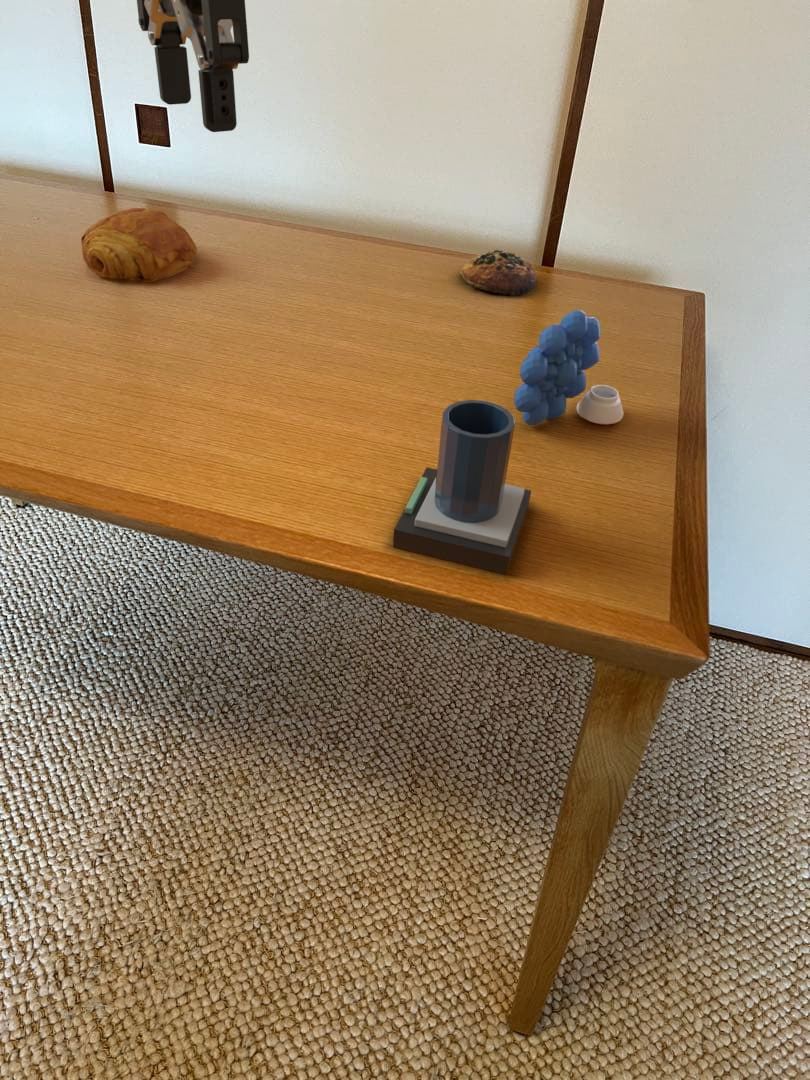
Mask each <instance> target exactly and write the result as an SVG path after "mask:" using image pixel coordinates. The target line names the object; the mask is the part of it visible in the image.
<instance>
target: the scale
mask: <svg viewBox="0 0 810 1080" xmlns="http://www.w3.org/2000/svg"><path fill="white" fill-rule="evenodd" d="M436 474H437V468H432V467H431V468H430V467H426V468H425V469H424V471H423V472H422V475H421V477H420V479H419V481H418V483H417V485H416V487H415V489H414V490H413V493H412V494H411V496H410V498H409V500H408V502H407V504H406V506H405V508H404V509H403V511H402V513H401V515H400V517H399V518H398V521H397V523H396V525H395V526H394V529H393V538H392V539H393V540H392V548H395V549H399V550H403V551H407V552H411V553H415V554H419V555H424V556H426V557H427V556H428V557H432V558H436V559H440V560H443V561H448V562H452V563H456V564H460V565H465V566H468V567H472V568H476V569H481V570H485V571H489V572H492V573H497V574H500V575H505V576H506V575H507V574H508V572H509V568H510V565H511V562H512V560H513V556H514V552H515V549H516V546H517V543H518V540H519V538H520V535H521V531H522V528H523V525H524V521H525V518H526V516H527V513H528V511H529V510H528V509H529V505H530V500H531V495H532V490H530V489H527V488H525V487H521V486H516V485H512V484H507V483H505V486H504V492H503V498H502V503H501V507H500V510H499V512H498V513H497V515H495V516H494V517H493V518H491V519H489V520H486V521H483V522H477V523H467V522H460V521H456V520H453V519H451V518H449V517H447V516H445V515H444V514H442V513H441V512H440V511H439V510H438V509H437V507H436V505H435V502H434V497H435V484H436Z"/></svg>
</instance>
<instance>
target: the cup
mask: <svg viewBox="0 0 810 1080" xmlns="http://www.w3.org/2000/svg"><path fill="white" fill-rule="evenodd" d="M441 416H442V417H441V426H440V436H439V443H438V444H439V445H438V455H437V465H436V469H437V474H436V484H435V497H434V502H435V505H436V507H437V509H438V510H439V511H440V512H441V513H442V514H444V515H445V516H447V517H449V518H451V519H453V520H456V521H460V522H467V523H477V522H483V521H486V520H489V519H491V518H493V517H494V516H495V515H497V513H498V512H499V510H500V507H501V503H502V498H503V492H504V486H505V484H506V481H507V474H508V468H509V467H508V466H509V463H510V457H511V452H512V451H511V450H512V444H513V439H514V432H515V426H516V423H515V422H516V421H515V417H514V416H513V414H512V413H511V412H510V411H509V410H508V409H507V408H506V407H504V406H502V405H499V404H497V403H495V402H491V401H487V400H479V399H467V400H459V401H456V402H454V403H450V404H449V405H448V406H446V408H445V409H444V410H443V411H442V414H441Z"/></svg>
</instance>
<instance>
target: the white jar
mask: <svg viewBox="0 0 810 1080" xmlns="http://www.w3.org/2000/svg"><path fill="white" fill-rule="evenodd" d="M576 412H577V414H578V415H579V416H580V417H581V418H582V419H584V420H587V421H588V422H591V423H594V424H597V425H598V424H599V425H612V424H616V423H618V422H621V421H622V419H623V418H624V415H625V412H624V408H623V405H622V401H621V398H620V393H619V390H618V389H616V388H615V387H613V386H610V385H606V384H596V385H593V386H591V388H590V389H589V390H588V391H587V392H586V393H585V395H584V396H582V398H581V399H580V400H579V402H578V403H577V404H576Z"/></svg>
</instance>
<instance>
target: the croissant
mask: <svg viewBox="0 0 810 1080" xmlns="http://www.w3.org/2000/svg"><path fill="white" fill-rule="evenodd" d="M80 240H81V248H82V249H81V250H82V258H83V260H84V263H85V265H86V266H87V267H88V269H90V271H92V272H93V273H95V275H97V276H99V277H101V278H110V279H119V280H124V279H127V280H129V281H136V280H139V282H143V283H149V282H156V281H159V280H161V279H168V278H172V277H173V276H175V275H178V274H179V273H182V272H185V271H186V270H187V269H188V267H189V266H191V265H192V264H193V262H194V261H195V260H196V256H197V254H198V247H197V244H196V242H195V241H194V240H193V239H192V237H191V235H190V234H189V232H188V231H187V230H186V229H185V227H183V226H181V225H180V224H179V223H178V222H176V221H174V220H173V219H171V218H169V217H168V215H167V214H166V213H165V212H163V211H160V210H159V211H158V210H157V211H156V210H152V209H147V208H143V207H131V208H127V209H123V210H118V211H115V212H113V213H111V214H110V215H108V216H106V217H103V218H101V219H100V220H98V221H97V222H96V223H94V224H92V225H91V226H90V227H89V228H87V229H86V231H85V232H84V233H83V234H82V235H81V239H80Z"/></svg>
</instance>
